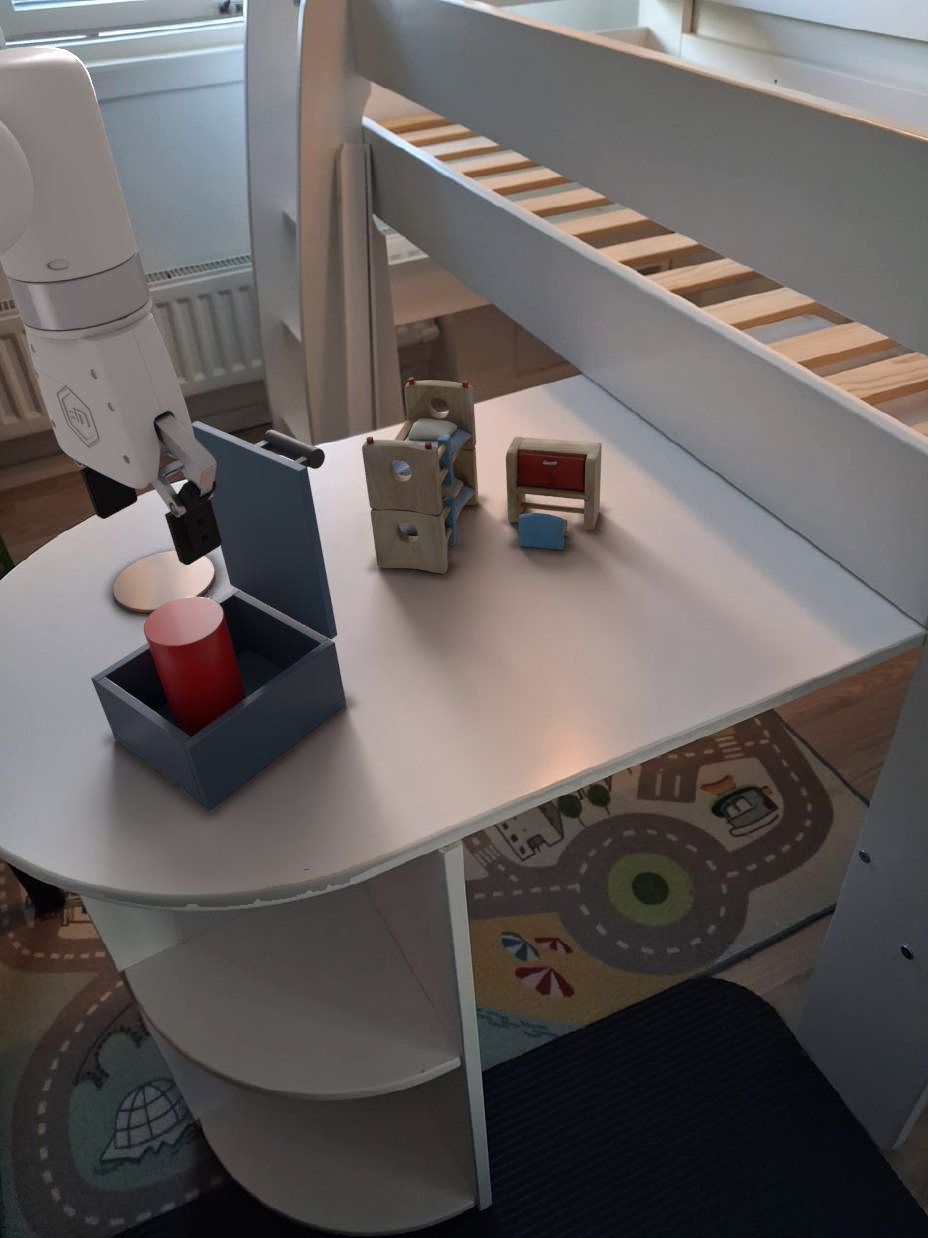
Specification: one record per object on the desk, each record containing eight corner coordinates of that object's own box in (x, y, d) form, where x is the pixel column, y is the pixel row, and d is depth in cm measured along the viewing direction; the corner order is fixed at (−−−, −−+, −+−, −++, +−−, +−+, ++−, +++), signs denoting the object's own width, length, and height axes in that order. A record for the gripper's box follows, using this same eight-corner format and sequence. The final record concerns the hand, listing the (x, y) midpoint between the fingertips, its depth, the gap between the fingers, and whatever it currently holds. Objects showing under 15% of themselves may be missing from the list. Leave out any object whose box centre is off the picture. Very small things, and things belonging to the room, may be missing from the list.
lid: (299, 471, 69) (353, 440, 72) (188, 424, 76) (243, 397, 79) (330, 640, 79) (377, 606, 82) (230, 585, 85) (277, 555, 89)
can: (191, 761, 78) (156, 656, 71) (169, 717, 82) (134, 613, 75) (262, 732, 80) (235, 627, 73) (237, 690, 84) (209, 587, 78)
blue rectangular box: (209, 810, 75) (188, 748, 71) (114, 739, 82) (90, 678, 78) (346, 703, 83) (335, 642, 79) (250, 646, 90) (234, 587, 86)
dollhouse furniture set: (577, 589, 94) (579, 458, 85) (377, 567, 99) (359, 441, 90) (599, 509, 105) (603, 385, 96) (417, 493, 109) (405, 374, 101)
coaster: (128, 625, 94) (127, 622, 94) (103, 574, 101) (102, 571, 100) (228, 589, 97) (228, 586, 97) (197, 542, 104) (196, 539, 104)
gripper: (-49, 283, 61) (45, 517, 72) (111, 345, 52) (191, 603, 62) (58, 246, 65) (131, 472, 76) (224, 297, 56) (280, 546, 67)
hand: (158, 531), depth 69 cm, fingers open, 9 cm apart
